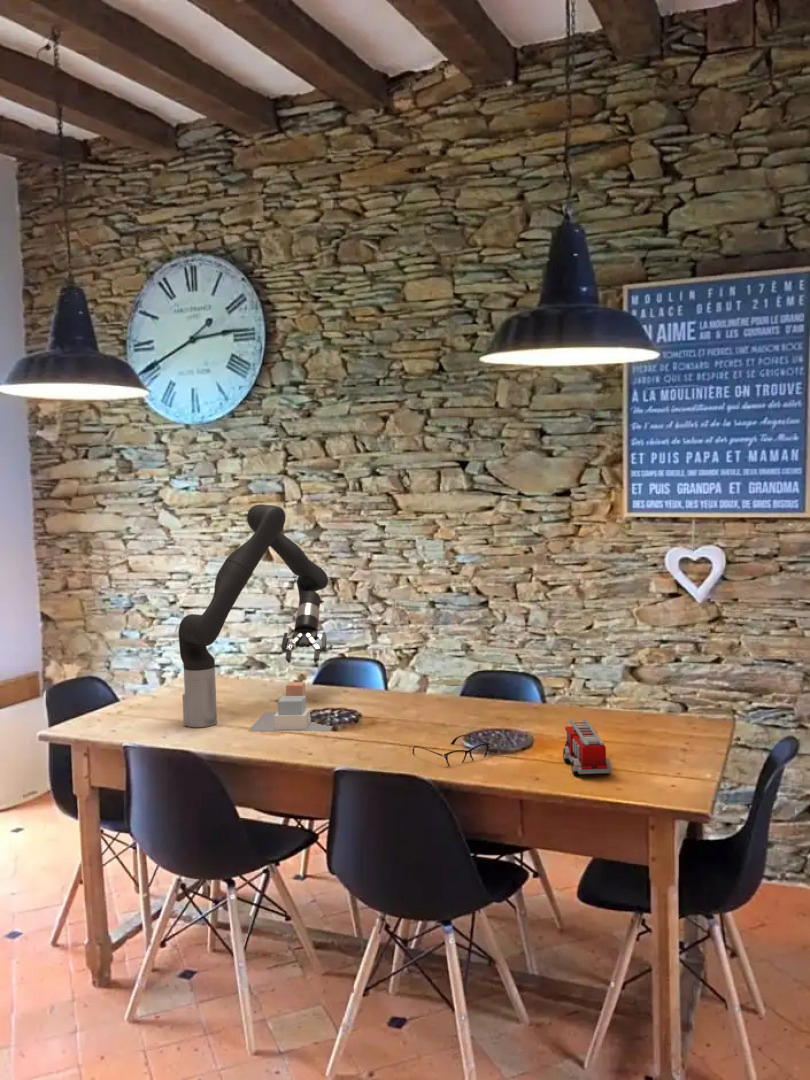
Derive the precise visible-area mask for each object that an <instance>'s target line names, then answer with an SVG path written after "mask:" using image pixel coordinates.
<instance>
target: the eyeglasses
mask: <svg viewBox="0 0 810 1080" xmlns="http://www.w3.org/2000/svg"><path fill="white" fill-rule="evenodd" d="M462 737H468V738H469V737H470V738H471V739H474V740H477V741H479V742H481V743H482V744H478V745H476V746H473V747H471V748H470V749H467V750H464V749H459V750H458V749H457V750H452V751H450V752H447V753H444V754H441V753H438V752H437V751H433V750H430V749H428V748H424V747H421V746H418V745H415V746H413V747H412V755H414V754H415V749H416V748H419V749H422V750H425V751H428V752H430V753H433V754H435V755H438V756H441V757H443V758H445V761H446V764H447V765H448V766H451V764H450V763H449V759H448V758H449V757H448V756H449V755H451V754H453V753H457V752H460V753H461V752H463V753H464V755H463V760H462V761H461V764H463V763H464V762H465V761H466V757H467V756H468V757H469V758H471V760H472V761H475V759H474V758H473V756H472V751H473V750H475V749H477V748H480V747H482V746H483V747H484V746H486V751H485V752H484V755H483V758H485V757H486V756H487V754H488V750H489V748H490V746H491V743H489V742H485V741H483V740H481V739H478V738H477V737H474V736H471V735H469V734H468V735H467V734H463V735H458V736H457V737H455V738H454V739H453V740H452V741H451V742H450V745H455V743H456V742H457V740H458V739H459V738H462Z"/></svg>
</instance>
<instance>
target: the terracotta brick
mask: <svg viewBox="0 0 810 1080" xmlns="http://www.w3.org/2000/svg"><path fill="white" fill-rule="evenodd" d="M285 694H286V695H285V696H306V697H307V695H306V682H305V681H289V682H288V683H287V684H286V685H285Z"/></svg>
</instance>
